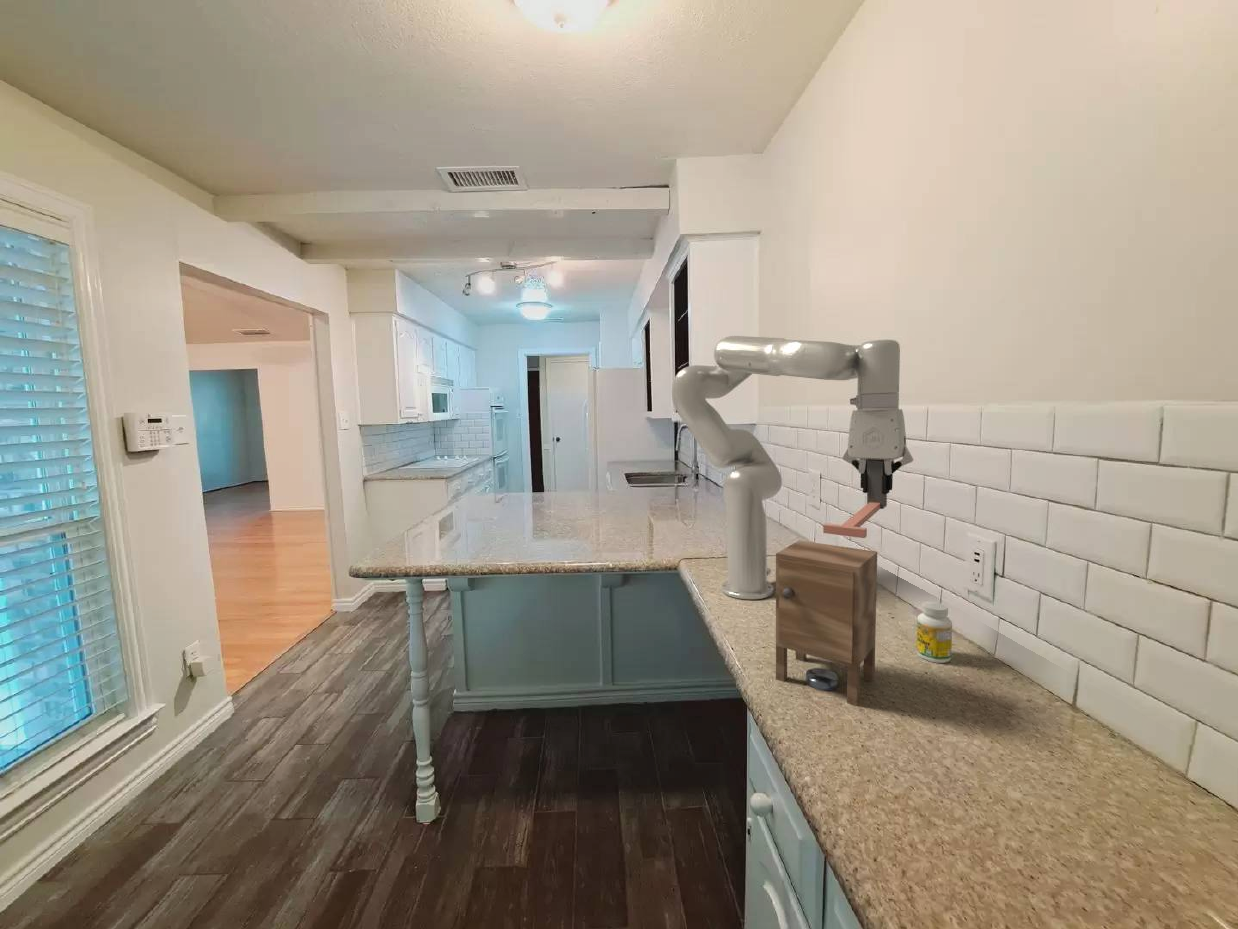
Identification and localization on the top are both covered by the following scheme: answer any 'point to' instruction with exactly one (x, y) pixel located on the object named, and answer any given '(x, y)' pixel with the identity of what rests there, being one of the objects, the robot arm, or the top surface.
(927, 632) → the supplement bottle
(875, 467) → the rake
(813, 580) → the walnut cabinet
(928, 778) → the top surface
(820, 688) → the steel token
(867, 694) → the top surface
